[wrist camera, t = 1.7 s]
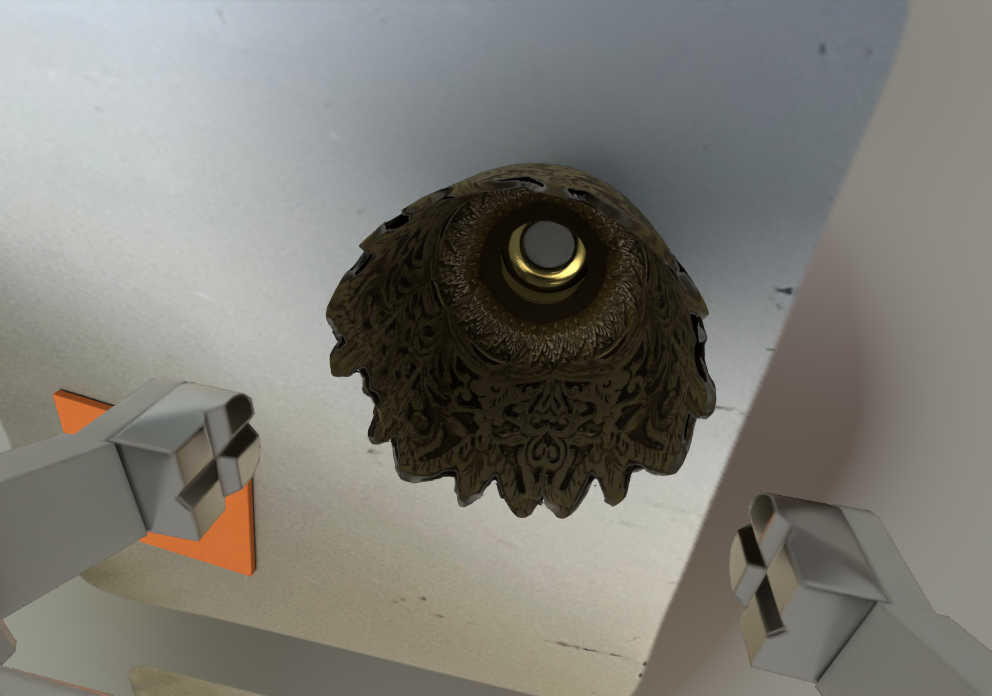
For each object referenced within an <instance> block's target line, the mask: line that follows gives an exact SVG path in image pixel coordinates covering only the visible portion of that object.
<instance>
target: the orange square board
mask: <svg viewBox="0 0 992 696" xmlns="http://www.w3.org/2000/svg"><path fill="white" fill-rule="evenodd" d="M53 397H54V400H55V404H56V407H57V411H58V414H59V417H60V421H61V424H62V428H63V431H64V433H68V434H73V435H74V434H75V433H77V432H78V431H79V430H81V429H82V428H84V427H85V426H86V425H88V424H89V423H91V422H92V421H93V420H95V419H96V418H98V417H99V416H100V415H102V414H103V413H105V412H106V411H107V410H109V409H110V408H112V407H113V406H111V405H107V404H104V403H101V402H98V401H94V400H91V399H88V398H85V397H81V396H78V395H75V394H72V393H68V392H65V391H62V390H59V391H57V392H56V393H54V394H53ZM225 507H226V510H225V511H224V512H223V513H222V514H221V516H220V517H219V518H218V519H217V520H216V522H215V523H214V524H213V525H212V526H211V527H210V529H209V530H208V531H207V532H206V533H205V535H204V536H203V537H202V538H201V539H200V541H199V542H197V541H192V540H187V539H182V538H177V537H171V536H166V535H161V534H156V533H151V532H147V533H148V534H147V536H145V537H143V538H141V539H140V540H138V541H141V542H144V543H148V544H151V545H154V546H157V547H160V548H163V549H166V550H170V551H173V552H176V553H179V554H182V555H185V556H188V557H192V558H195V559H198V560H201V561H204V562H207V563H211V564H214V565H217V566H220V567H223V568H226V569H229V570H233V571H236V572H239V573H242V574H245V575H248V576H252V575H253V573H254V572H255V550H254V524H253V498H252V478H251V479H250V480H249V481H248V483H247V484H246V485H245V487H244V488H243V489H242V490H240V491H238V492H235V493H233V494H231V495H229V496H227V497H225Z"/></svg>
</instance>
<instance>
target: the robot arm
mask: <svg viewBox="0 0 992 696" xmlns="http://www.w3.org/2000/svg"><path fill="white" fill-rule="evenodd" d="M254 415H255V412H254V408H253V403H252V399H251V398H250V397H249V396H247V395H245V394H244V393H240V392H235V391H231V390H226V389H221V388H217V387H212V386H207V385H203V384H198V383H194V382H186V381H182V380H177V379H172V378H168V377H159V378H153V379H151V380H149V381H148V382H147V383H145V384H144V385H142V386H141V387H140V388H138V389H137V390H135V391H134V392H133V393H131V394H130V395H128V396H127V397H126V398H124V399H123V400H121V401H120V402H119V403H117V404H116V405H114V406H113V407H112V408H110V409H109V410H107V411H106V412H105V413H103V414H102V415H100V416H99V417H98V418H96V419H95V420H93V421H92V422H91V423H89V424H88V425H86V426H85V427H84V428H82V429H81V430H79V431H78V432H77V433H75V434H74V435H73V434H68V433H62V434H59V435H56V436H53V437H50V438H47V439H43V440H40V441H37V442H34V443H31V444H28V445H24V446H21V447H18V448H15V449H12V450H9V451H5V452H3V453H0V696H114V695H111V694H107V693H103V692H100V691H96V690H92V689H89V688H85V687H81V686H77V685H74V684H70V683H66V682H62V681H59V680H54V679H51V678H47V677H44V676H40V675H36V674H32V673H29V672H25V671H21V670H18V669H14V668H10V667H6V666H3V664H4V663H5V662H6V661H7V660H8V658H10V656H12V655H13V653H14V652H15V650H16V642H17V641H16V640H15V638H14V637H13V635H12V634H11V632H10V630H9V629H8V627H7V626H6V624H5V623H4V621H3V620H2V619H3V618H5V617H7V616H8V615H10V614H12V613H14V612H15V611H17V610H19V609H21V608H22V607H24V606H26V605H28V604H29V603H31V602H33V601H34V600H36V599H38V598H40V597H41V596H43V595H45V594H46V593H48V592H50V591H52V590H53V589H55V588H57V587H58V586H60V585H62V584H64V583H66V582H67V581H69V580H71V579H72V578H74V577H76V576H78V575H79V574H81V573H83V572H85V571H86V570H88V569H90V568H91V567H93V566H95V565H97V564H98V563H100V562H102V561H104V560H105V559H107V558H109V557H110V556H112V555H114V554H116V553H117V552H119V551H121V550H123V549H124V548H126V547H128V546H129V545H131V544H133V543H135V542H136V541H138V540H140V539H141V538H143V537H145V536H147V534H148V533H147V532H151V533H156V534H161V535H166V536H171V537H177V538H182V539H187V540H192V541H197V542H199V541H200V539H201V538H202V537H203V536H204V535H205V533H206V532H207V531H208V530H209V529H210V527H211V526H212V525H213V524H214V523H215V522H216V520H217V519H218V518H219V517H220V516H221V514H222V513H223V512H224V511H225V510H226V507H225V497H227V496H229V495H231V494H233V493H235V492H238V491H240V490H242V489H243V488H244V487H245V485H246V484H247V483H248V481H249V480H250V479H251V478H252V476H253V474H254V472H255V469H256V467H257V465H258V462H259V460H260V449H261V445H260V439H259V435H258V433H257V432H256V431H255V430H254V429H253V428H252V426H251V425H250V424H249V421H250V420H251V419H252V417H253V416H254ZM748 512H749V516H750V520H751V524H749V525H747V526H745V527H743V528H741V529H739V530H738V531H737V534H736V536H735V538H734V541H733V543H732V546H731V552H730V560H729V571H730V581H731V585H732V590H733V594H734V595H735V596H736V597H737V598H738V599H739V600H740V601H741V603H742V604H743V605H744V606H745V607H746V608H747V609H746V611H745V613H744V615H743V616H742V618H741V620H740V624H741V628H742V632H743V637H744V641H745V645H746V649H747V653H748V657H749V661H750V665H751V667H753V668H757V669H761V670H765V671H769V672H773V673H776V674H780V675H784V676H788V677H792V678H796V679H800V680H804V681H808V682H812V683H816V685H815V687H816V689H817V690H818V691H819V693H820V694H821V696H992V651H990V650H989V649H988V648H987V647H986V646H984V645H983V644H982V643H980V642H979V641H978V640H977V639H976V638H975V637H973V636H972V635H971V634H970V633H968V632H967V631H966V630H965V629H964V628H962V627H961V626H960V625H959V624H957V623H956V622H955V621H954V620H952V619H951V618H950V617H949V616H944V615H940V614H936V613H935V611H934V610H933V608H932V606H931V605H930V603H929V601H928V599H927V598H926V596H925V594H924V593H923V591H922V589H921V588H920V586H919V584H918V583H917V581H916V580H915V578H914V576H913V574H912V572H911V571H910V569H909V567H908V566H907V564H906V562H905V561H904V559H903V557H902V556H901V554H900V552H899V551H898V549H897V547H896V545H895V544H894V542H893V540H892V539H891V537H890V535H889V534H888V532H887V530H886V528H885V527H884V525H883V524H882V522H881V520H880V518H879V517H878V516H876V515H875V514H874V513H873V512H871V511H870V510H864V509H858V508H852V507H846V506H840V505H835V504H832V505H829V504H825V503H820V502H814V501H809V500H803V499H798V498H793V497H787V496H782V495H776V494H771V493H765V492H759V493H758V494H757V495H756V496H755V497H754V498H753V500H752V502H751V504H750V506H749V508H748Z"/></svg>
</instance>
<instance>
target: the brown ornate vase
mask: <svg viewBox="0 0 992 696" xmlns="http://www.w3.org/2000/svg"><path fill="white" fill-rule="evenodd" d="M401 211H402V214H401V215H399V216H397V217H395V218H394V219H392V220H390V221H388V222H384V223H383V224H382V225H381V226H380V227H378V228H377V229H376V230H375V231H374V232H373V233H372V234H371V235H370V236H368V237H367V238H366V239H365V240H364V241H363V242H362V243H361V244H360V245H359V247H360V248H361V249H362V250H363V251H364V253H363V254H362V255H361V257H360V258H359V260H358V261H357V262H356V263H355V265H354V266H353V267H352V268H351V269H350V270H349V271H347V272H346V273H345V274H344V276H343V278H342V279H341V281H340V283H339V285H338V286H337V288H336V290H335V292H334V294H333V296H332V298H331V300H330V302H329V304H328V306H327V310H326V319H327V322H328V324H329V325H330V326H331V328H332V329H333V332H332V333H333V334H334V335H335V338H336V340H337V341H338V342H337V344H336V345H335V346H334V348H333V350H332V352H331V353H330V368H331V374H332V375H333V376H335V377H349V376H351V375H352V374H353V373H356V372H358V373H360V374H361V376H362V378H363V387H362V391H363V393H364V394H366V395H367V396H369V397H370V398H371V399H372V401H373V403H374V404H375V406H374V410H373V415H374V416H373V419H372V422H371V425H370V427H369V429H368V438H369V440H370V442H371V443H372V444H378V445H379V444H382V443H384V442H391V443H392V448H393V456H394V461H395V469H396V472H397V473H398V475H399V477H400V479H402V480H404V481H408V482H411V483H419V482H426V481H433V480H435V479H440V478H442V477H445V476H446V477H454V478H455V488H454V491H455V493H456V494H457V500H458V504H459V505H460V507H466V506H467V505H470V504H472V503H473V502H474V501H475V500H477V499H479V498H481V496H483V495H484V494H483V492H484V490H485V489H486V488H487V486H489V485H490V484H491V482H492V481H493V480H496V481H497V483H496V485H497V489H498V492H499V495H500V498H502V499H505V501H506V503H507V505H508V506H509V508H510V509H511V511H512V512H513V513H514V514H515V515H516V516H517V517H519V518H525V517H527V516H529V515H531V514H532V512H533V511H534V509H535V508H536V506H537V504H538V505H542V503H544V502H543V499H544V501H545V503H544V504H545V506H546V507H547V508H548V509H550V510H551V511H552V512H553V513H554V514H555V515H556V517H558V518H561V519H564V518H566V517H568V516H569V515H571V514H572V513H573V512H574V511H575V510H576V509H577V508H578V507H579V505H580V504H581V502H582V501H583V499H584V498H585V496H586V495H587V493H588V491H589V488H590V485H591V483H592V481H593V480H594V479H597V480H598V482H599V484H600V487H601V490H602V492H603V494H604V498H605V499H604V501H605V503H607V504H609V505H611V506H612V507H613V506H615V505H617V504H619V503H620V502H621V501H622V500H623V499H624V498H625V497H626V495H627V491H628V486H629V482H630V477H631V474H632V473H633V472H638V471H641V470H642V469H645V471H646V470H647V472H649V473H651V474H653V475H660V476H667V475H672V474H675V473H677V471H678V470H679V469H680V467H681V466H682V464H683V462H684V460H685V458H686V455H687V453H688V451H689V448H690V444H691V440H692V437H693V431H694V426H695V422H696V420H697V418H700V417H702V418H700V419H707V418H708V417H709V416H711V414H712V413H713V412H714V410H715V405H716V387H715V384H714V382H713V380H712V379H711V377H710V375H709V373H708V370H707V366H706V363H705V347H704V346H705V343H706V341H707V335H706V332H705V329H704V325H703V321H702V320H703V319H704V318H705V317H707V316H708V315H709V312H708V309H707V306H706V304H705V302H704V300H703V298H702V296H701V294H700V292H699V291H698V289H697V287H696V286H695V284H694V283H693V281H692V279H691V278H690V277H689V275H688V274H687V272H686V271H685V269H684V268H683V267H682V266H681V264H680V263H679V262H678V261H677V259H676V258H675V256H674V255H673V253H672V252H671V250H670V249H669V248H668V246H667V245H666V243H665V242H664V241H663V239H662V238H661V237H660V235H659V234H658V233H657V231H656V230H655V229H654V227H653V226H652V225H651V224H650V222H649V221H648V220H647V219H646V217H645V216H644V215H643V214H642V212H641V211H640V210H639V209H638V208H637V207H636V206H635V205H634V204H633V203H632V202H631V201H630V200H629V199H628V198H626V197H625V196H624V195H623V194H621V193H620V192H619V191H617V190H616V189H615V188H613V187H612V186H610V185H608V184H607V183H605V182H603V181H602V180H600V179H598V178H596V177H594V176H592V175H590V174H588V173H585V172H583V171H580V170H577V169H573V168H570V167H566V166H561V165H555V164H544V163H527V164H515V165H509V166H503V167H499V168H496V169H492V170H489V171H486V172H482V173H479V174H477V175H475V176H472V177H470V178H468V179H465V180H463V181H461V182H458V183H456V184H454V185H451V186H449V187H447V188H444V189H441V190H438V191H436V192H434V193H432V194H429V195H427V196H425V197H423V198H421V199H419V200H418V201H416V202H414V203H412V204H411V205H409V206H407V207H406V208H404V209H403V210H401ZM540 221H550V222H555V223H558V224H560V225H563V226H565V227H566V228H568V230H569V231H570V232H571V234H572V236H573V239H574V252H573V254H572V257H571V258H570V260H569V261H568V262H567V263H566V264H565V265H563V266H562V267H559V268H557V269H552V270H545V269H541V268H538V267H536V266H534V265H533V264H532V263H531V262H530V261H529V260H528V259H527V258H526V256H525V254H524V250H523V239H524V236H525V234H526V232H527V231H528V229H529V228H530V227H531V226H532V225H534V224H536V223H537V222H540ZM358 369H359V371H358ZM390 439H391V441H389V440H390ZM594 486H596V485H594ZM482 494H483V495H482Z"/></svg>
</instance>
